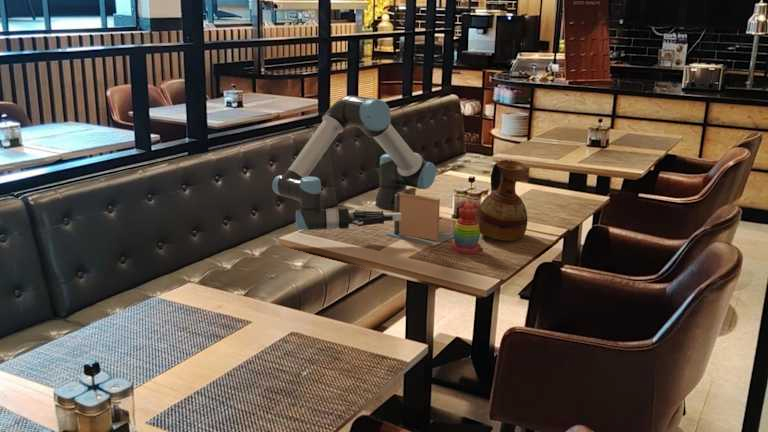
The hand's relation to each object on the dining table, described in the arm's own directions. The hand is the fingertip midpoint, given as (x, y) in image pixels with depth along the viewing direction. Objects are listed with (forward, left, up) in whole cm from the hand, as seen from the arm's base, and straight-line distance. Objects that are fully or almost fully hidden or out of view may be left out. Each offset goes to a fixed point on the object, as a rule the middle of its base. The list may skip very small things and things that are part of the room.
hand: (400, 216), depth 276 cm
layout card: (-10, +2, -10) cm, 14 cm away
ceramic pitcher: (-30, +26, -10) cm, 41 cm away
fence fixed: (-10, -6, -9) cm, 15 cm away
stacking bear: (-8, +24, -10) cm, 27 cm away
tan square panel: (-7, +3, -9) cm, 12 cm away
